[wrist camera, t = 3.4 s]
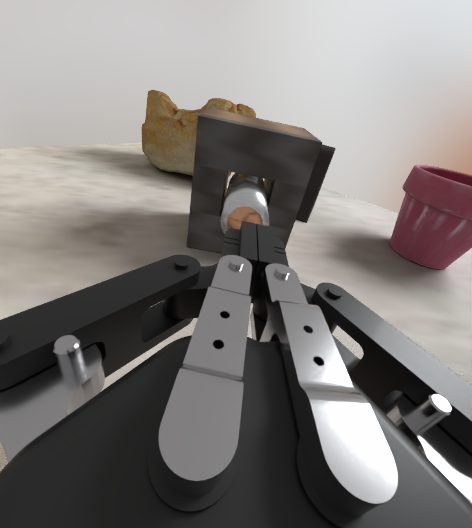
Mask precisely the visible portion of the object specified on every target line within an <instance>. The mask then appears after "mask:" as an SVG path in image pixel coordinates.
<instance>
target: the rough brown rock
mask: <svg viewBox="0 0 472 528" xmlns="http://www.w3.org/2000/svg"><path fill="white" fill-rule="evenodd" d="M211 108H213V109H218V110H222V111H227V112H231V113H236V114H240V115H245V116H249V117H254V118H256V113H255V112H254V110H253V109H251V108H249V107H248V106H246V105H243V104H237V105H235V104H233V103H232V102H231V101H228V100H225V99H220V98H218V99H217V98H214V99H213V98H212V99H210V100H209V101H208V103H207V104H206V105H205V106H203V107H202V108H201V109H198V110H193V111H192V110H184V109H178V108H177V106H176V105H175V104H174V103H173V102H172V101H171V100H170V98H169V97H168V96H167V95H166V94H165V93H163V92H159V91H155V90H151V91H149V92H148V98H147V109H146V120H145V123H144V124H142V149H143V152H144V154H145V155H146V156H147V158H148V160H149V161H150V162H151V163H152V164H153V165H154V166H156V167H157V168H159V169H161V170H164V171H168V172H178V173H184V174H188V175H191V176H193V169H194V157H195V146H196V134H197V122H198V115H200V114H202V113H204V112H206V111H208V110H209V109H211ZM230 175H231V172H230V171H229V175H228V177H229V176H230Z"/></svg>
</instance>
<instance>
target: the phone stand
mask: <svg viewBox="0 0 472 528" xmlns="http://www.w3.org/2000/svg"><path fill="white" fill-rule="evenodd" d="M334 151H335V148H333V147H329V146H325V145H321V147H320V150H319V153H318V156H317V159H316V162H315V165H314V167H313V170H312V173H311V176H310V179H309V182H308V185H307V188H306V190H305V193H304V196H303V199H302V202H301V205H300V208H299V210H298V213H297V216H296V219H298V220H301V221H304V222H307V221H308V218H309V216H310V214H311V212H312V209H313V207H314V204H315V202H316V199H317V196H318V194H319V191H320V188H321V186H322V183H323V180H324V178H325V175H326V172H327V170H328V167H329V164H330V162H331V159H332V157H333V154H334Z"/></svg>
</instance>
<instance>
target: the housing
mask: <svg viewBox="0 0 472 528" xmlns="http://www.w3.org/2000/svg"><path fill="white" fill-rule="evenodd" d="M321 145H322V142H321V141H320V140H318V139H317V138H316V137H314V136H313V135H312V134H311V133H309V132H308V131H307V130H306V129H304V128H299V127H295V126H290V125H286V124H281V123H276V122H272V121H268V120H263V119H259V118H254V117H249V116H245V115H240V114H236V113H231V112H227V111H222V110H218V109H213V108H211V109H209V110H208V111H206V112H204V113H202V114H200V115H198V122H197V134H196V146H195V157H194V169H193V181H192V192H191V204H190V216H189V227H188V239H187V247H191V248H196V249H202V250H207V251H212V252H218V253H222V248H223V243H224V238H225V234H224V233H223V231H222V228H221V216H222V212H223V208H224V203H225V199H226V195H227V190H228V188H226V187H227V181H228V175H229V171H230V172H235V173H240V174H245V175H250V176H254V177H259V178H264V179H265V180H264V185H265V193H266V200H267V208H268V215H269V226H271V232H272V236H274V237H279V238H280V240H281V241H282V242H283V243H284V247H285V248H286V245H287V242H288V239H289V236H290V233H291V230H292V228H293V225H294V222H295V219H296V216H297V213H298V210H299V208H300V205H301V202H302V199H303V196H304V193H305V190H306V188H307V185H308V182H309V179H310V176H311V173H312V170H313V167H314V165H315V162H316V159H317V156H318V153H319V150H320V147H321Z"/></svg>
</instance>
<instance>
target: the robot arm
mask: <svg viewBox="0 0 472 528" xmlns="http://www.w3.org/2000/svg"><path fill="white" fill-rule="evenodd" d="M161 301H162V302H161ZM159 302H160V303H159ZM157 303H158V304H157ZM251 303H253V308H252V311H251V315H250V319H251V330H252V339H251V338H249V337H247V332H248V322H249V313H250V304H251ZM155 304H156V305H155ZM153 305H154V306H153ZM151 306H152V307H151ZM149 307H150V308H149ZM193 318H198V320H197V323H196V326H195V329H194V332H193V335H192V336H187V337H183V338H180V339H178V340H175V341H173V342H172V343H170V344H168V345H166V346H165V347H163V348H162V349H161V350H159V351H158V352H156V353H155V354H154V355H152V356H151V357H149V358H148V359H147V360H145V361H144V362H142V363H141V364H139V365H138V366H137V367H135V368H134V369H132V370H131V371H130V372H128V373H127V374H125V375H124V376H123V377H121V378H120V379H118V380H117V381H115V382H114V383H113V384H111V385H110V386H108V387H107V388H106V389H104V390H103V391H101V390H102V388H103V386H104V382H105V378H106V377H107V376H109V375H110V374H112V373H113V372H115V371H117V370H118V369H120V368H121V367H123V366H124V365H126V364H128V363H129V362H131V361H132V360H134V359H135V358H137V357H138V356H140V355H142V354H143V353H145V352H146V351H148V350H149V349H151V348H153V347H154V346H156V345H157V344H159V343H160V342H162V341H164V340H165V339H167V338H168V337H170V336H171V335H173V334H174V333H176V332H178V331H179V330H181V329H182V328H184V327H185V326H187V325H188V324H190V323H191V321H192V320H193ZM337 325H338V326H339V327H340V328H341V329H342V330H344V331H345V332H346V333H347V334H348V335H349V336H351V337H352V338H353V339H354V340H355V341H356V342H357V343H359V344H360V346H361V347H362V349H363V352H364V355H363V357H362V359H361V360H360V359H359V358H357V357H356V356H355V355H354V354H353V353H352V352H351V351H349V350H348V349H347V348H346V347H345V346H344V345H343V344H342V343H341V342H340V341H338V340H337V339H336V338H335V337H334V336H333V335H332V333H333V331H334V329H335V328H336V326H337ZM0 441H1V444H2V446H3V449H4V452H5V454H6V457H7V459H8V462H9V463H8V464H7V465H6V466H5V467H4V469H3V470H2V471H1V472H0V528H472V385H471V384H469V383H468V382H467V381H465V380H464V379H463V378H461V377H460V376H459V375H457V374H456V373H455V372H453V371H452V370H451V369H449V368H448V367H447V366H445V365H444V364H443V363H441V362H440V361H439V360H437V359H436V358H435V357H433V356H432V355H431V354H429V353H428V352H426V351H425V350H424V349H422V348H421V347H420V346H418V345H417V344H416V343H414V342H413V341H412V340H410V339H409V338H408V337H406V336H405V335H404V334H402V333H401V332H400V331H398V330H397V329H396V328H394V327H393V326H392V325H390V324H389V323H388V322H386V321H385V320H384V319H382V318H381V317H380V316H378V315H377V314H376V313H374V312H373V311H372V310H370V309H369V308H368V307H366V306H365V305H364V304H362V303H361V302H360V301H358V300H357V299H356V298H354V297H353V296H352V295H350V294H349V293H348V292H346V291H345V290H344V289H342V288H341V287H339V286H337V285H334V284H331V283H320V284H319V285H318V286H317V288H316V289H313V288H311V287H308V286H306V285H304V284H302V283H300V281H299V278H298V276H297V274H296V272H295V271H294V270H293V269H291V268H290V267H289V265H288V261H287V256H286V252H285V247H284V243H283V242H282V241H281V240H280V238H279V237H274V236H272V232H271V226H266V225H261V224H256V223H251V222H247V221H242V223H241V227H240V230H239V229H234V228H230V229H228V230H227V231H226V233H225V238H224V243H223V248H222V253H221V259H220V260H219V262H218V263H217V264H215V265H212V266H206V267H200V263H199V262H198V261H197V260H196V259H194V258H193V257H190V256H186V255H174V256H171V257H168V258H165V259H163V260H160V261H157V262H154V263H152V264H149V265H146V266H144V267H141V268H138V269H136V270H133V271H130V272H128V273H125V274H122V275H120V276H117V277H114V278H112V279H109V280H106V281H104V282H101V283H98V284H95V285H93V286H90V287H87V288H85V289H82V290H79V291H77V292H74V293H71V294H69V295H66V296H63V297H61V298H58V299H55V300H53V301H50V302H47V303H45V304H42V305H39V306H36V307H34V308H31V309H28V310H26V311H23V312H20V313H18V314H15V315H12V316H10V317H7V318H4V319H2V320H0Z"/></svg>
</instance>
